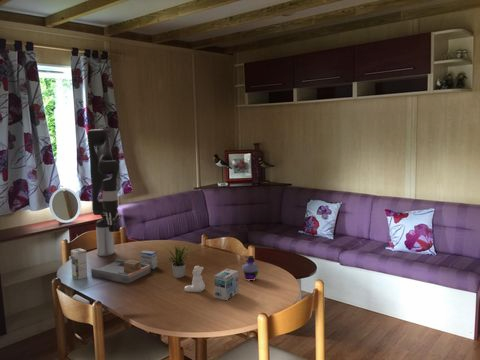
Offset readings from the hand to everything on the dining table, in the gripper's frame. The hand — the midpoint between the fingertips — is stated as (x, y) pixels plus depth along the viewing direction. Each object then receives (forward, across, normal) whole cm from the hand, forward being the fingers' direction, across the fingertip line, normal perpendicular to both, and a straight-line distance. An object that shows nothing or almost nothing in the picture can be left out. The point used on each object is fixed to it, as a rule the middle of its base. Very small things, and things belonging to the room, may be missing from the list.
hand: (111, 231), depth 228 cm
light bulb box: (+22, -69, +2) cm, 72 cm away
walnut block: (+19, -13, +1) cm, 24 cm away
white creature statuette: (+22, -53, +2) cm, 57 cm away
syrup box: (+22, +10, +14) cm, 28 cm away
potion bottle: (+22, -70, -21) cm, 76 cm away
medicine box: (+22, -12, -14) cm, 29 cm away
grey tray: (+22, -6, +1) cm, 23 cm away
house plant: (+22, -36, -10) cm, 43 cm away
